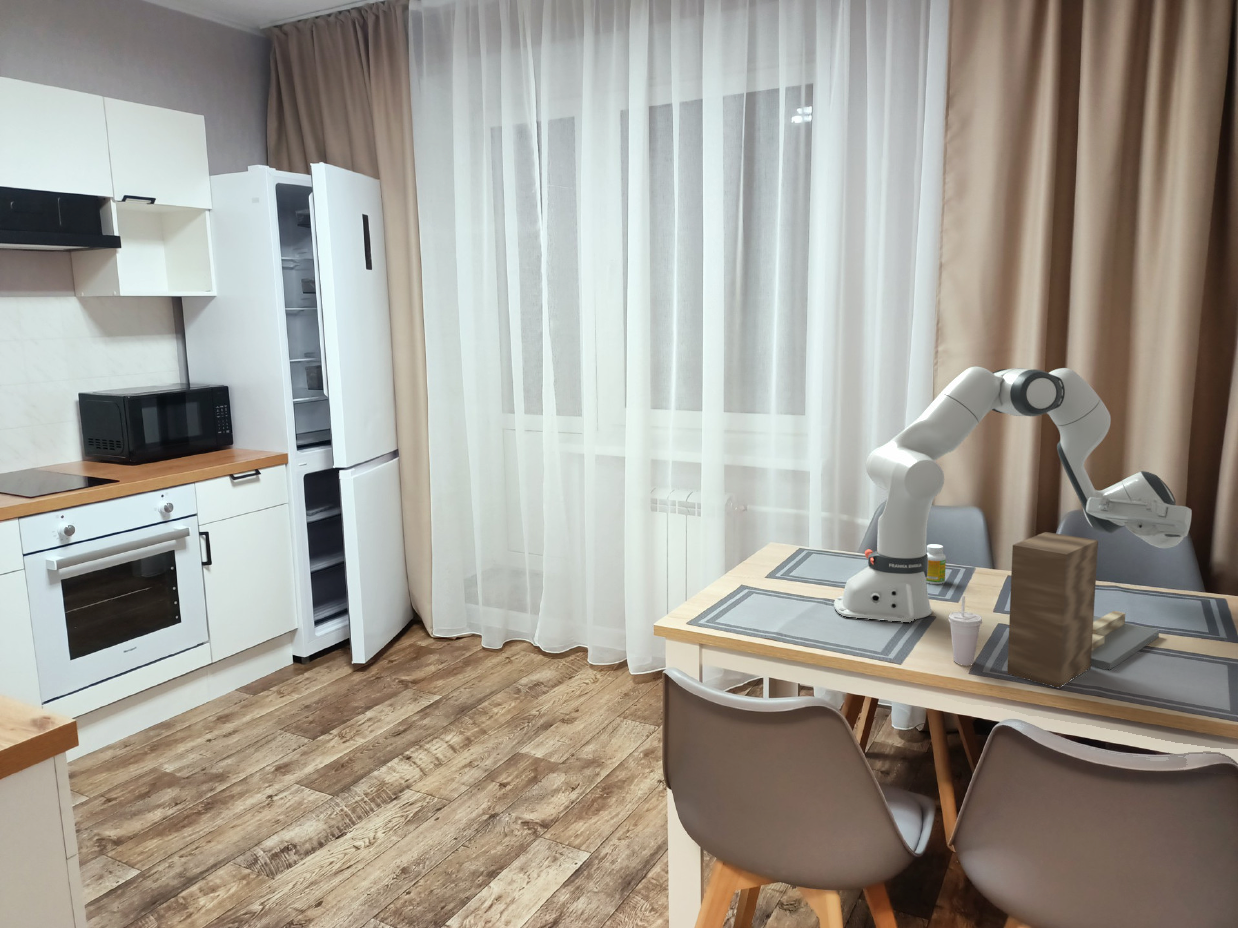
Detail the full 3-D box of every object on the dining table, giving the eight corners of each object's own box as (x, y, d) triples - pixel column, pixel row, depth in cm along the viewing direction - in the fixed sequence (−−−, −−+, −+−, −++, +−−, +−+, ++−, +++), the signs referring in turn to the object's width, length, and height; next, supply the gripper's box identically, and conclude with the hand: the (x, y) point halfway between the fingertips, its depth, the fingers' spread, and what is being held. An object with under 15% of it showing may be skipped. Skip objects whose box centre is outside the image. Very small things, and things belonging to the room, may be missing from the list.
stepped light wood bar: (1104, 619, 199) (1105, 608, 199) (1133, 625, 194) (1134, 615, 194) (1057, 645, 185) (1057, 634, 184) (1087, 653, 180) (1088, 641, 180)
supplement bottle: (942, 585, 231) (943, 549, 230) (921, 583, 234) (922, 547, 233) (947, 580, 236) (948, 544, 234) (926, 577, 239) (927, 542, 237)
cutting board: (1081, 619, 204) (1081, 612, 203) (1158, 636, 192) (1159, 630, 191) (1028, 649, 187) (1028, 642, 187) (1109, 670, 175) (1110, 662, 175)
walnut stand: (1039, 654, 184) (1045, 531, 180) (1090, 668, 176) (1098, 540, 172) (1007, 673, 175) (1012, 544, 171) (1059, 688, 167) (1066, 554, 163)
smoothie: (941, 657, 184) (943, 591, 182) (971, 655, 185) (973, 590, 182) (955, 669, 178) (958, 601, 176) (986, 667, 178) (989, 599, 176)
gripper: (1100, 500, 210) (1078, 485, 201) (1200, 510, 195) (1180, 494, 186) (1095, 526, 210) (1073, 512, 201) (1195, 538, 194) (1175, 523, 185)
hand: (1125, 503), depth 193 cm, fingers open, 8 cm apart
